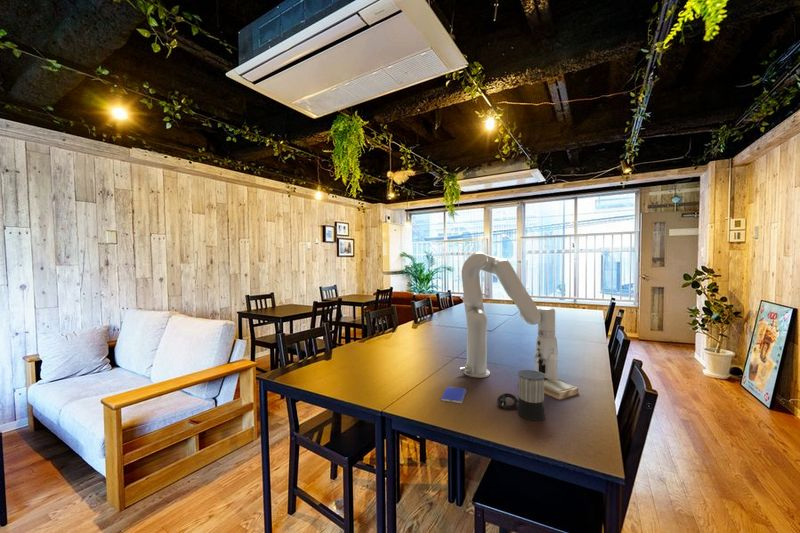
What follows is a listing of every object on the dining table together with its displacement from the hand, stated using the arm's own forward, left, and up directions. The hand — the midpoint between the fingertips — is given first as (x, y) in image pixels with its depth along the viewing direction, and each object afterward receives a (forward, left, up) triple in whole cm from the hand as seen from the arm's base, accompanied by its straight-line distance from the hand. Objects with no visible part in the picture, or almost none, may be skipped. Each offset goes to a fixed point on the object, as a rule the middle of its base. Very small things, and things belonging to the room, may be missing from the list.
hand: (546, 371), depth 151 cm
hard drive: (-51, +3, -4) cm, 51 cm away
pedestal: (-10, -13, -3) cm, 17 cm away
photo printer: (0, 0, -3) cm, 3 cm away
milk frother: (-37, -19, -3) cm, 42 cm away
